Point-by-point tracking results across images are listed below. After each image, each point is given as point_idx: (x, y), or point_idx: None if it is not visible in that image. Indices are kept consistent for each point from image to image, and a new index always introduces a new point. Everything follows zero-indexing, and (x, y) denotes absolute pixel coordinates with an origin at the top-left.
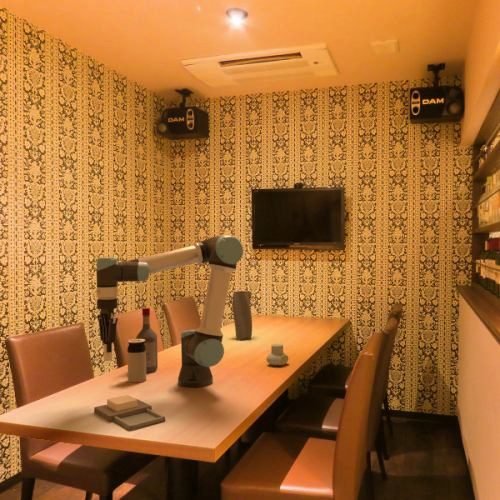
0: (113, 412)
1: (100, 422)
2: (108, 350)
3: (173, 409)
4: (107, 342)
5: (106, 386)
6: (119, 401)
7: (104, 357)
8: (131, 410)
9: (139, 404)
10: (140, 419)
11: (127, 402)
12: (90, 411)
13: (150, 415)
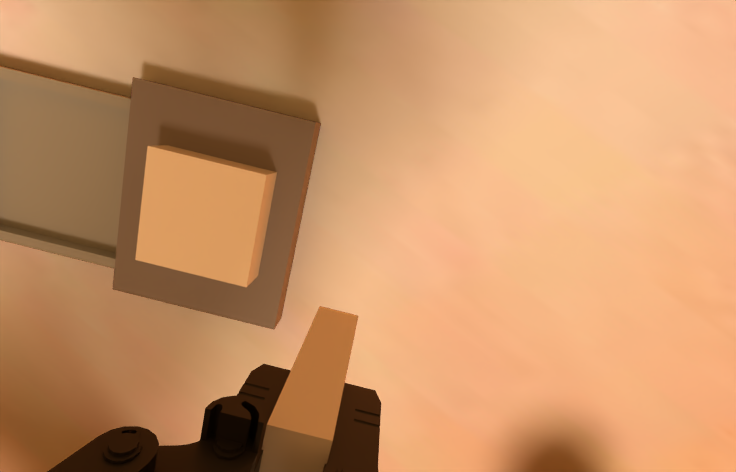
0: (167, 125)
1: (180, 53)
2: (246, 381)
3: (84, 345)
4: (199, 453)
5: (621, 424)
6: (179, 187)
7: (334, 328)
8: (127, 195)
9: (173, 274)
10: (61, 174)
11: (142, 205)
12: (355, 126)
13: (73, 234)
